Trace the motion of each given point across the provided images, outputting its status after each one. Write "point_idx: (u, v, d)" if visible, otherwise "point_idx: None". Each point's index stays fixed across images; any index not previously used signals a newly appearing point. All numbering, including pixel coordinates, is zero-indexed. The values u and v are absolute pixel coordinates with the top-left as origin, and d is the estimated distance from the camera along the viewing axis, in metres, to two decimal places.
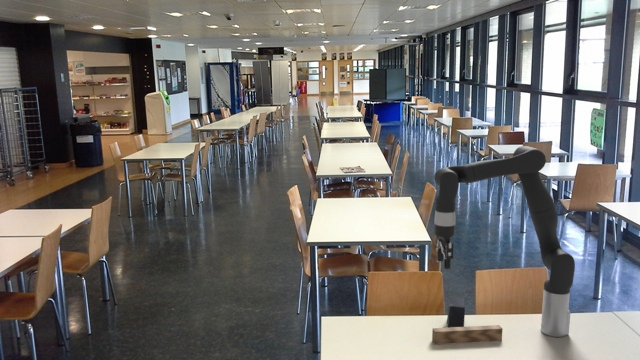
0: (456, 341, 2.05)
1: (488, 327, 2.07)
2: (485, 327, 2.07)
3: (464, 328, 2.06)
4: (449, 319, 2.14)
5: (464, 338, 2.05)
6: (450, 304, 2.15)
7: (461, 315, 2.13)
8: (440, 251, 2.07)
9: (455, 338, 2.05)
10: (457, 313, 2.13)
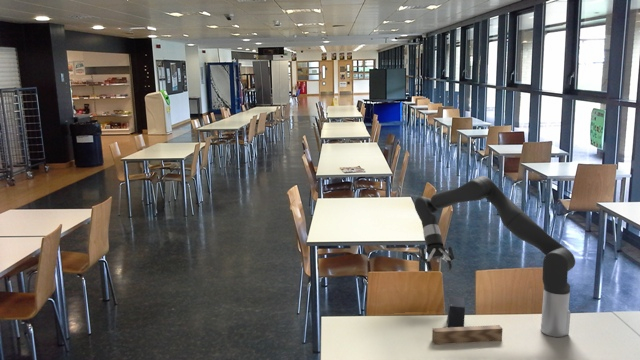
0: (456, 341, 2.05)
1: (488, 327, 2.07)
2: (485, 327, 2.07)
3: (464, 328, 2.06)
4: (449, 319, 2.14)
5: (464, 338, 2.05)
6: (450, 304, 2.15)
7: (461, 315, 2.13)
8: (447, 261, 2.38)
9: (455, 338, 2.05)
10: (457, 313, 2.13)
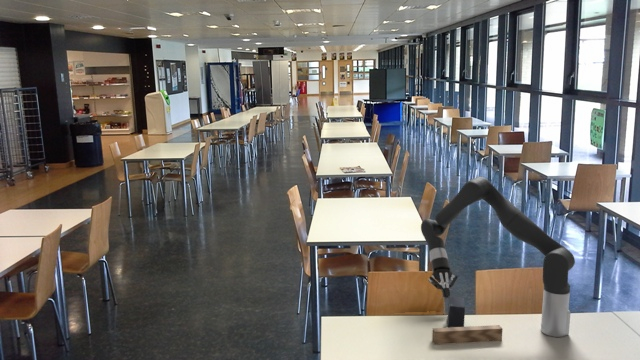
0: (456, 341, 2.05)
1: (488, 327, 2.07)
2: (485, 327, 2.07)
3: (464, 328, 2.06)
4: (449, 319, 2.14)
5: (464, 338, 2.05)
6: (450, 304, 2.15)
7: (461, 315, 2.13)
8: None
9: (455, 338, 2.05)
10: (457, 313, 2.13)
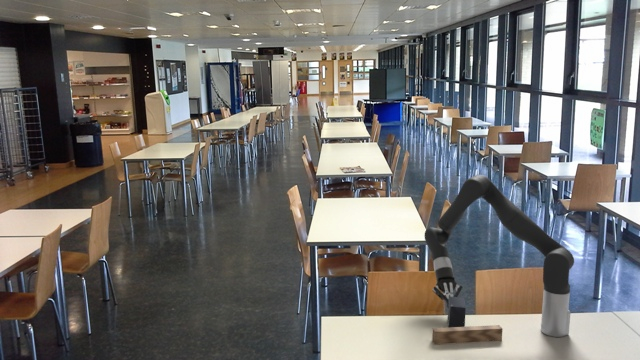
0: (456, 341, 2.05)
1: (488, 327, 2.07)
2: (485, 327, 2.07)
3: (464, 328, 2.06)
4: (450, 319, 2.14)
5: (464, 338, 2.05)
6: (451, 304, 2.14)
7: (462, 315, 2.13)
8: None
9: (455, 338, 2.05)
10: (458, 314, 2.13)
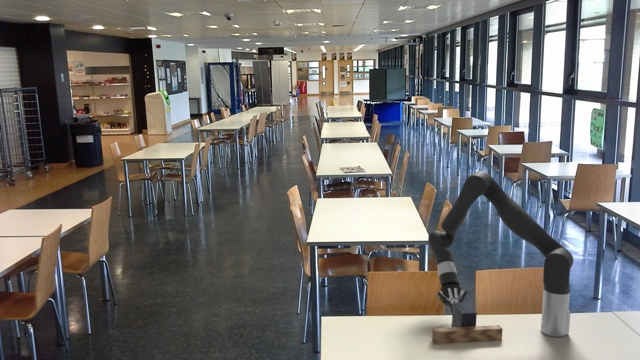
0: (456, 341, 2.05)
1: (488, 327, 2.07)
2: (485, 327, 2.07)
3: (464, 328, 2.06)
4: None
5: (464, 338, 2.05)
6: (461, 311, 2.08)
7: (473, 321, 2.08)
8: None
9: (455, 338, 2.05)
10: (469, 320, 2.07)
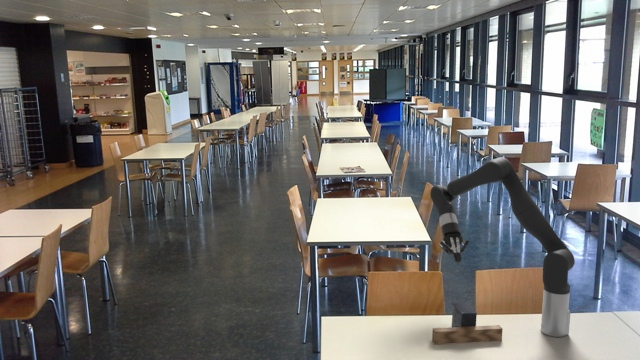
0: (456, 341, 2.05)
1: (488, 327, 2.07)
2: (485, 327, 2.07)
3: (464, 328, 2.06)
4: None
5: (464, 338, 2.05)
6: (461, 311, 2.08)
7: (473, 321, 2.08)
8: None
9: (455, 338, 2.05)
10: (469, 320, 2.07)
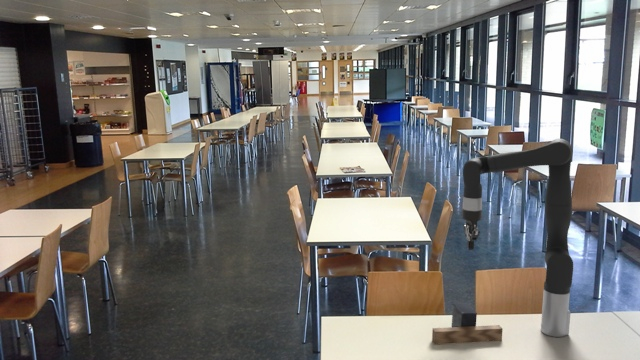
0: (456, 341, 2.05)
1: (488, 327, 2.07)
2: (485, 327, 2.07)
3: (464, 328, 2.06)
4: None
5: (464, 338, 2.05)
6: (461, 311, 2.08)
7: (473, 321, 2.08)
8: None
9: (455, 338, 2.05)
10: (469, 320, 2.07)
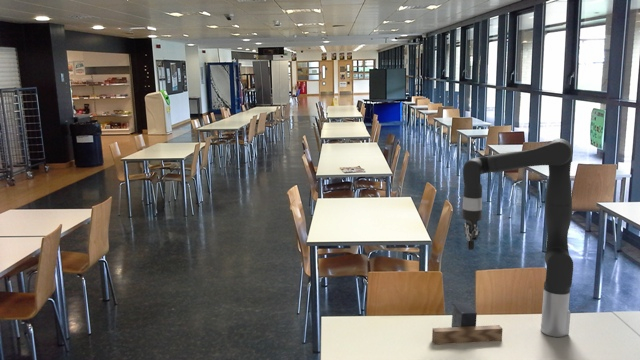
0: (456, 341, 2.05)
1: (488, 327, 2.07)
2: (485, 327, 2.07)
3: (464, 328, 2.06)
4: None
5: (464, 338, 2.05)
6: (461, 311, 2.08)
7: (473, 321, 2.08)
8: None
9: (455, 338, 2.05)
10: (469, 320, 2.07)
